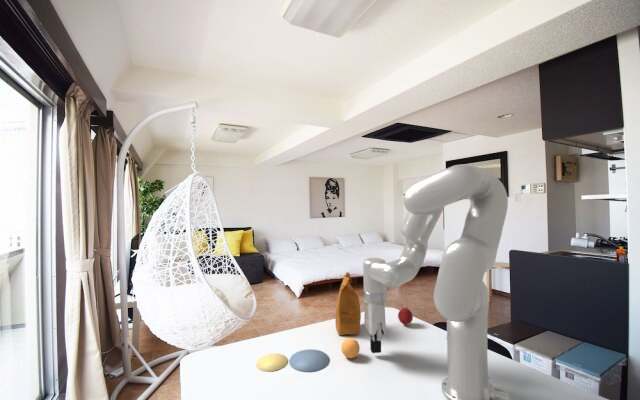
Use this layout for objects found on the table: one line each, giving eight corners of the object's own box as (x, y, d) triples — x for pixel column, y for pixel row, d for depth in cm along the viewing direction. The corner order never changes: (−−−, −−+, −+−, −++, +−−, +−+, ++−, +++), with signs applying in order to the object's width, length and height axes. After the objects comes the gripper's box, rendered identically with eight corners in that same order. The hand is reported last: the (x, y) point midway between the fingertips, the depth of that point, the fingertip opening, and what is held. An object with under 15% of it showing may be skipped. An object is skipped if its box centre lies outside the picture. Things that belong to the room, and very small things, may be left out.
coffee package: (359, 323, 122) (358, 271, 122) (361, 337, 109) (360, 279, 110) (336, 323, 123) (335, 271, 123) (335, 336, 110) (334, 278, 110)
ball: (335, 344, 96) (342, 360, 97) (345, 347, 91) (353, 364, 92) (347, 332, 100) (355, 348, 100) (358, 335, 95) (366, 351, 95)
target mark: (336, 356, 96) (336, 355, 96) (316, 376, 85) (316, 376, 85) (303, 346, 103) (303, 346, 103) (281, 364, 92) (281, 363, 92)
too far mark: (293, 359, 95) (293, 358, 95) (274, 375, 86) (274, 374, 86) (270, 351, 100) (270, 350, 100) (249, 365, 91) (249, 365, 91)
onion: (415, 326, 118) (415, 307, 118) (404, 329, 115) (403, 309, 115) (406, 321, 123) (406, 302, 123) (395, 323, 121) (395, 304, 121)
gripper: (359, 289, 103) (359, 341, 103) (369, 304, 88) (370, 365, 88) (379, 288, 104) (380, 340, 104) (393, 303, 89) (394, 363, 89)
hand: (375, 351), depth 96 cm, fingers closed
